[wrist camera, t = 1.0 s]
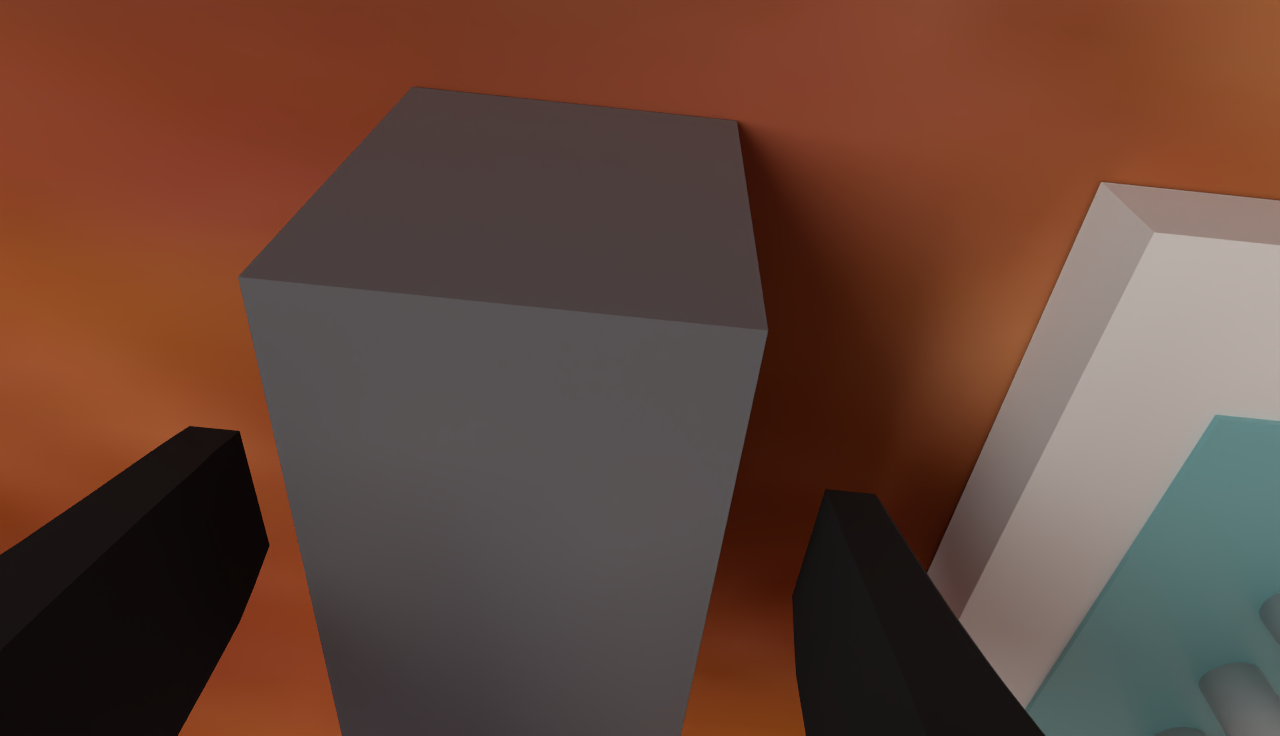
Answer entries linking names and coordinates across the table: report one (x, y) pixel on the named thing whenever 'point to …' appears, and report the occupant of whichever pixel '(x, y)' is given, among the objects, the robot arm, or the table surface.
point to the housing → (513, 410)
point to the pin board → (1137, 481)
